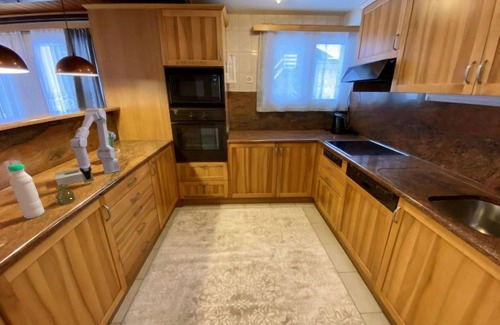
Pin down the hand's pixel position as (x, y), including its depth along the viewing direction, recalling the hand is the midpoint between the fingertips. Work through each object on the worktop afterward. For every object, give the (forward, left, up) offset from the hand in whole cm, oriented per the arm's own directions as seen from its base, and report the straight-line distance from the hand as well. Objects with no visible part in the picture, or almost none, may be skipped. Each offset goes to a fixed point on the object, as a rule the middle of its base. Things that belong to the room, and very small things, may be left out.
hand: (88, 178), depth 133 cm
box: (+7, -15, -3) cm, 17 cm away
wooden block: (0, 0, -2) cm, 2 cm away
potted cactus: (-20, -45, -4) cm, 49 cm away
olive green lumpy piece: (+12, +20, -4) cm, 24 cm away
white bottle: (+24, +26, -4) cm, 36 cm away
